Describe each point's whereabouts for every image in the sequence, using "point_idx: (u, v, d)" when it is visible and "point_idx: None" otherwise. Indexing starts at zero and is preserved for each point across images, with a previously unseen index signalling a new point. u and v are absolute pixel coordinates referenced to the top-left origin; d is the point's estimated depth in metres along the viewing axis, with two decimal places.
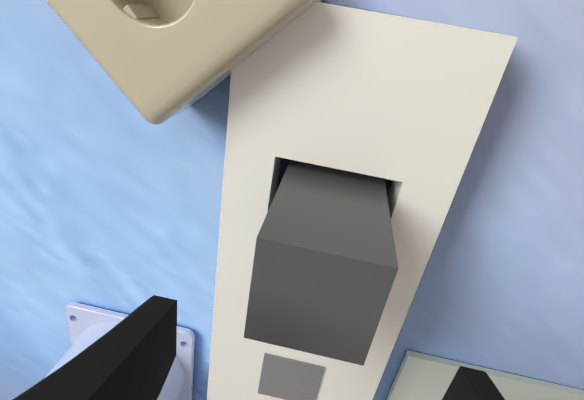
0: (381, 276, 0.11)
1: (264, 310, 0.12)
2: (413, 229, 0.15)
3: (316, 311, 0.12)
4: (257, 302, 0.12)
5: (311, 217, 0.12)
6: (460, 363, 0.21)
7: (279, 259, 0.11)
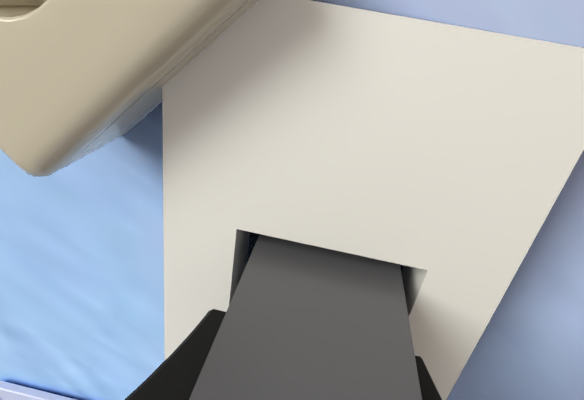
0: None
1: None
2: (441, 332, 0.10)
3: None
4: None
5: (283, 361, 0.07)
6: None
7: None
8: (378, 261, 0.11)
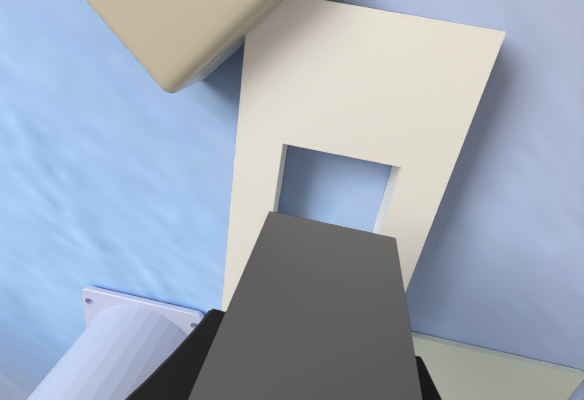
0: None
1: None
2: (411, 211, 0.17)
3: None
4: None
5: (283, 358, 0.07)
6: (456, 342, 0.22)
7: None
8: (378, 260, 0.11)
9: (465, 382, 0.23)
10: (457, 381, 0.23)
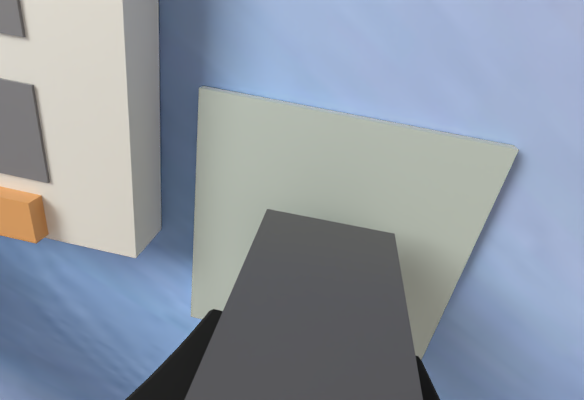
0: None
1: None
2: None
3: None
4: None
5: (281, 355, 0.07)
6: (289, 103, 0.12)
7: None
8: (377, 255, 0.10)
9: (316, 188, 0.13)
10: (303, 187, 0.13)
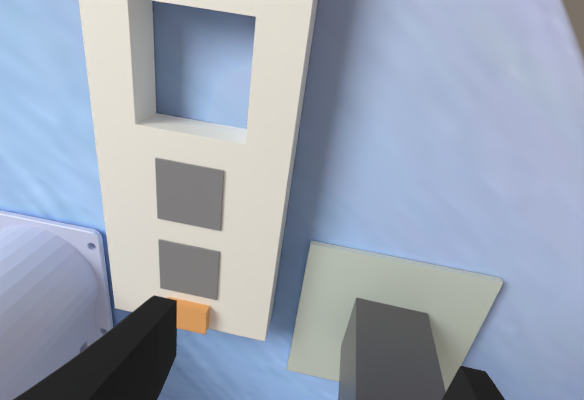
0: None
1: None
2: (276, 74, 0.15)
3: None
4: None
5: (387, 386, 0.17)
6: (364, 251, 0.20)
7: None
8: (420, 329, 0.20)
9: (379, 298, 0.21)
10: (370, 297, 0.21)
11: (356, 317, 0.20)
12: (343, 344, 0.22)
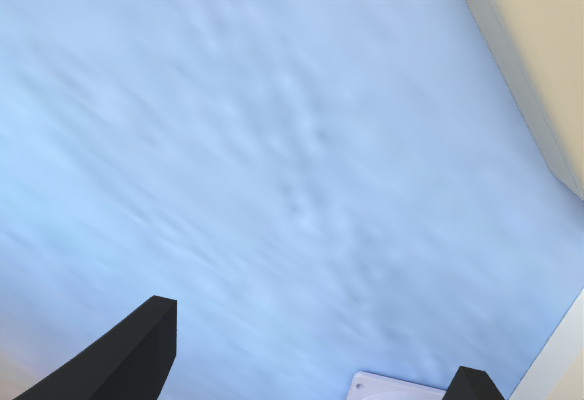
0: None
1: None
2: None
3: None
4: None
5: None
6: None
7: None
8: None
9: None
10: None
11: None
12: None
